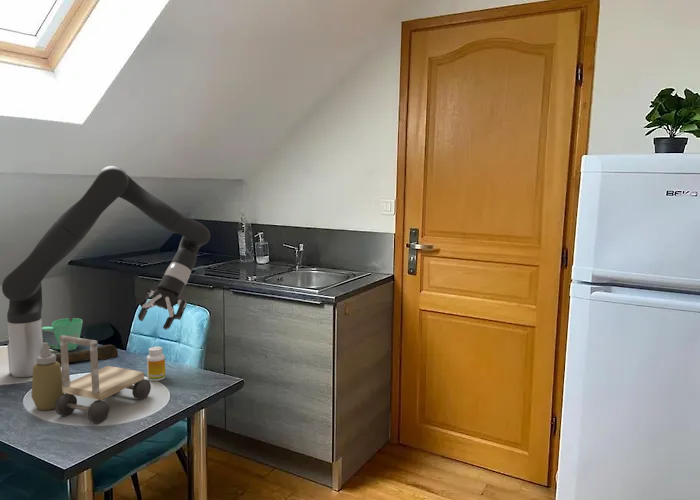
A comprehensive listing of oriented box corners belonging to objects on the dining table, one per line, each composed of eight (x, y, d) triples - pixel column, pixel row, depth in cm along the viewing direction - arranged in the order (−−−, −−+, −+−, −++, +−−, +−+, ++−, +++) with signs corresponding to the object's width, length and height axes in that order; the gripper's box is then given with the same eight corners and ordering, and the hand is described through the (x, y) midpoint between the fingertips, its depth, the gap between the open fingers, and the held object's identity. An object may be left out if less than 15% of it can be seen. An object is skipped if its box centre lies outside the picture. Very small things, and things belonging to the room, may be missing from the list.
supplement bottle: (168, 378, 175) (167, 348, 174) (151, 382, 171) (150, 352, 170) (161, 373, 179) (160, 344, 178) (144, 377, 175) (143, 347, 174)
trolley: (55, 418, 147) (49, 337, 144) (116, 388, 167) (112, 317, 164) (93, 427, 142) (89, 344, 139) (151, 395, 162) (148, 322, 159)
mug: (77, 342, 208) (76, 316, 206) (88, 348, 201) (87, 321, 200) (34, 351, 197) (32, 324, 196) (44, 358, 191) (42, 330, 189)
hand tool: (56, 367, 184) (55, 353, 183) (56, 363, 187) (55, 349, 186) (118, 359, 192) (117, 346, 191) (117, 355, 196) (116, 342, 195)
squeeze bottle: (42, 415, 148) (38, 349, 146) (26, 407, 153) (21, 344, 150) (71, 404, 155) (68, 341, 152) (55, 397, 159) (51, 336, 157)
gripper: (151, 268, 181) (128, 314, 174) (192, 282, 179) (169, 328, 173) (158, 276, 188) (135, 321, 181) (197, 290, 186) (176, 335, 180)
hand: (152, 324), depth 177 cm, fingers open, 8 cm apart
